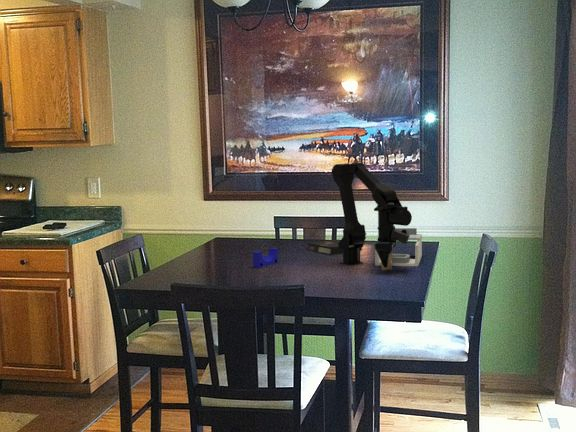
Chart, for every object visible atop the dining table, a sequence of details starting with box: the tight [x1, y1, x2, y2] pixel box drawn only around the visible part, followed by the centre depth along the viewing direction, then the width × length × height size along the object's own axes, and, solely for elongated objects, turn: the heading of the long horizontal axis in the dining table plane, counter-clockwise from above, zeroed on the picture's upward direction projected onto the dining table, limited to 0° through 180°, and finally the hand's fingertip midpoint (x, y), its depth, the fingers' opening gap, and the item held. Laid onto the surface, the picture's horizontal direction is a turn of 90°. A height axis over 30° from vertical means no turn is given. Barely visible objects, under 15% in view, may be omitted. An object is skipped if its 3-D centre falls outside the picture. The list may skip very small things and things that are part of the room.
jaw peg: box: [380, 251, 393, 271], centre depth 262 cm, size 4×4×6 cm
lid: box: [395, 227, 423, 241], centre depth 284 cm, size 11×16×3 cm
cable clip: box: [252, 247, 279, 269], centre depth 278 cm, size 12×4×6 cm, turn 145°
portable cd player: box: [307, 239, 363, 256], centre depth 306 cm, size 16×17×4 cm
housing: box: [374, 236, 423, 267], centre depth 279 cm, size 24×16×8 cm, turn 166°
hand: (386, 265), depth 262 cm, fingers open, 7 cm apart
